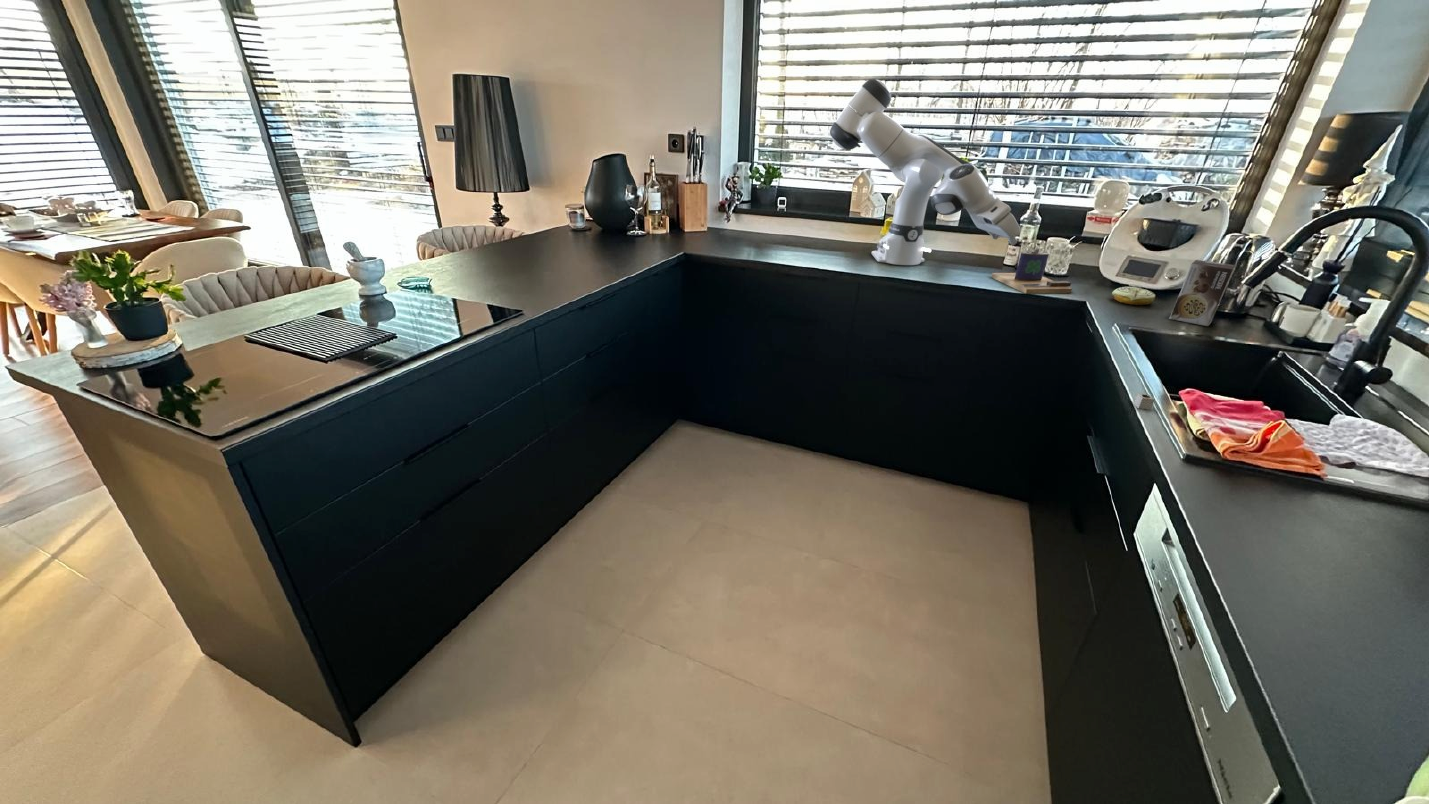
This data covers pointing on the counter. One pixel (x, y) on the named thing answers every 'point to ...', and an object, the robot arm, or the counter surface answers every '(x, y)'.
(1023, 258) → the flask
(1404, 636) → the counter surface
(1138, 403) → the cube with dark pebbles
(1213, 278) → the coffee box
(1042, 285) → the knife
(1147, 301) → the decorated donut
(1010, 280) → the cutting board
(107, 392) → the counter surface
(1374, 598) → the counter surface
